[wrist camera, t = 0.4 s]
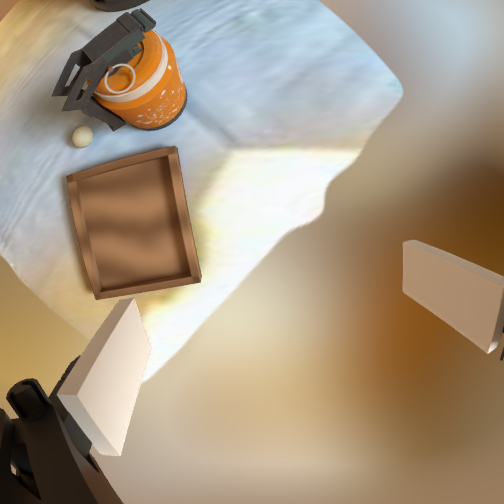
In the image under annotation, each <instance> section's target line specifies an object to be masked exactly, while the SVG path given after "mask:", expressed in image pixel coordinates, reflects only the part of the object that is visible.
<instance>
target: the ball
mask: <svg viewBox="0 0 504 504" xmlns="http://www.w3.org/2000/svg"><path fill="white" fill-rule="evenodd" d="M93 137H94V134H93V131H92V129H91V128H90V127H88V126H80V127H78V128H77V129H76V130H75V131H74V133H73V136H72V140H73V143H74V145H75V146H77V147H79V148H85V147H87V146H89V145H90V144H91V142H92V140H93Z"/></svg>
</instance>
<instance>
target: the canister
mask: <svg viewBox="0 0 504 504" xmlns="http://www.w3.org/2000/svg"><path fill="white" fill-rule="evenodd" d="M139 10H140V11H139ZM139 10H138V9H136V10H134V11H132V12H131V14H129V13H128V12H125V13H124V14H123V15H121V16H120V17H118V18H117V20H116V21H115V22H114V23H112V24H111V25H110V26H108V27H107V28H106V29H104V30H103V31H102V32H101V33H99V34H98V35H97V36H96V37H95V38H93V39H92V40H91V41H90V42H89V43H88V44H86V45H85V46H84V47H83V48H82V49H80V50H77V51H75V52H73V53H72V54H71V55H70V58H69V59H68V61H67V63H66V65H65V67H64V69H63V72H62V74H61V76H60V78H59V80H58V82H57V85H56V87H55V89H54V91H53V94H52V97H53V96H68V98H67V100H66V102H65V105H64V107H63V109H62V111H70V110H81V111H82V112H83V113H85V114H87V115H89V116H91V117H92V116H94V117H96V118H98V119H100V120H102V121H104V122H106V123H107V124H108V125H109V127H110V128H111V129H112V130H113V132H114V131H115V130H117V129H118V128H120V127H122V126H123V125H125V124H126V123H125V121H124V120H123V119H125V120H126V121H128V122H129V123H131V124H132V125H134V126H135V127H137V128H139V129H142V130H148V131H152V130H159V129H162V128H165V127H167V126H169V125H170V124H172V123H173V122H174V121H175V120H177V119H178V117H179V116H180V115H181V114H182V112H183V110H184V108H185V106H186V102H187V90H186V87H185V84H184V81H183V78H182V75H181V72H180V69H179V67H178V64H177V61H176V58H175V55H174V52H173V49H172V47H171V45H170V44H169V43H168V42H167V41H166V40H165V39H164V38H163V37H161V36H160V35H159V34H158V33H157V32H155V31H154V30H152V29H153V28H154V27H155V25H156V21H155V20H153V19H152V18H151V17H150V16H149V15H148V14H147V13H146V12H145V11H144V10H142V9H141V8H140V9H139ZM75 64H77V65H78V66H79V67H80V69H79V70H78V72H77V73H76V75H75V77H74V78H73V80H72V82H71V83H70V85H69V86H66V87H65V85H66V82H67V80H68V78H69V76H70V74H71V72H72V70H73V68H74V66H75ZM85 80H86V82H87V85H88V87H87V89H86V90H85V91H84V90H83V89H81V88H82V86H83V84H84V82H85ZM92 95H93V96H94V97H93V96H92ZM121 117H122V118H123V119H122V118H121Z"/></svg>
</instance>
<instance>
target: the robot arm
mask: <svg viewBox="0 0 504 504" xmlns="http://www.w3.org/2000/svg"><path fill="white" fill-rule="evenodd" d="M90 1H91V2H92V4H93V5H94V6H95V7H96V8H98V9H100V10H103V11H121V10H126V9H129V8H133V7H136V6H138V5H141V4H143V3H145V2H147V1H149V0H90ZM403 292H404V293H405V294H406V295H408V296H409V297H411V298H412V299H414V300H415V301H417V302H418V303H419V304H421V305H422V306H424V307H425V308H427V309H428V310H430V311H431V312H432V313H434V314H435V315H437V316H438V317H439V318H441V319H442V320H444V321H445V322H446V323H448V324H449V325H450V326H452V327H453V328H454V329H456V330H457V331H459V332H460V333H461V334H463V335H464V336H465V337H467V338H468V339H469V340H471V341H472V342H473V343H474V344H476V345H477V346H478V347H480V348H481V349H482V350H484V351H485V352H486V353H489V352H491V351H492V350H493V349H495V348H497V347H498V346H499V342H500V339H501V336H502V332H503V333H504V277H503V276H501V275H499V274H496V273H494V272H492V271H490V270H488V269H485V268H483V267H481V266H478V265H476V264H474V263H472V262H469V261H467V260H464V259H462V258H459V257H457V256H455V255H452V254H450V253H448V252H445V251H443V250H440V249H437V248H435V247H432V246H430V245H427V244H425V243H422V242H419V241H417V240H411V241H406V242H403ZM151 351H152V346H151V343H150V341H149V338H148V336H147V333H146V330H145V328H144V325H143V322H142V319H141V316H140V314H139V311H138V308H137V305H136V302H135V299H134V298H129V299H123V300H119V301H118V303H117V304H116V306H115V307H114V308H113V310H112V311H111V313H110V314H109V315H108V317H107V318H106V320H105V321H104V322H103V324H102V325H101V327H100V328H99V330H98V331H97V332H96V334H95V335H94V337H93V338H92V340H91V341H90V343H89V344H88V346H87V347H86V349H85V350H84V352H83V353H82V355H80V356H79V357H77V358H76V359H75V360H74V361H72V362H71V363H70V365H69V366H68V368H67V369H66V371H65V373H64V374H63V375H62V377H61V380H59V381H58V383H57V385H56V386H55V388H54V389H53V391H52V393H51V394H50V396H49V397H47V395H46V393H45V392H44V390H43V389H42V387H41V385H40V384H39V382H38V381H37V380H36V379H33V378H32V379H25V380H22V381H20V382H18V383H16V384H15V385H14V386H13V387H12V388H11V389H10V390H9V392H8V393H7V397H6V399H7V401H8V402H9V404H10V405H11V407H12V408H13V410H14V411H15V412H16V414H17V415H18V416H19V418H16V419H10V418H9V417H8V415H7V414H6V412H5V411H4V410H3V409H1V408H0V504H123V502H122V501H121V499H120V498H119V497H118V495H117V494H116V492H115V491H114V489H113V488H112V487H111V485H110V483H109V482H108V480H107V479H106V477H105V476H104V474H103V472H102V470H101V469H100V467H99V465H98V464H97V462H96V460H95V459H94V457H93V456H92V455H91V454H90V453H89V451H90V448H91V445H92V444H93V446H94V447H95V448H96V449H97V450H98V452H99V453H100V454H101V455H114V456H120V455H121V452H122V448H123V444H124V440H125V437H126V433H127V429H128V426H129V422H130V419H131V415H132V412H133V408H134V405H135V401H136V398H137V394H138V391H139V388H140V385H141V382H142V378H143V375H144V372H145V369H146V366H147V363H148V360H149V357H150V354H151ZM503 357H504V348H503V351H502V354H501V357H500V360H503ZM11 465H12V466H13V467H14V468H15V469H16V475H15V474H13V473H12V471H11Z"/></svg>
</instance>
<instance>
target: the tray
mask: <svg viewBox="0 0 504 504" xmlns="http://www.w3.org/2000/svg"><path fill="white" fill-rule="evenodd" d="M66 177H67V184H68V190H69V196H70V202H71V207H72V212H73V217H74V222H75V227H76V231H77V235H78V240H79V244H80V248H81V252H82V256H83V259H84V263H85V267H86V270H87V274H88V277H89V280H90V284H91V287H92V290H93V293H94V296H95V299H96V300H99V299H105V298H111V297H118V296H124V295H130V294H136V293H142V292H148V291H154V290H160V289H166V288H172V287H177V286H183V285H189V284H195V283H200V282H201V278H202V275H201V271H200V266H199V261H198V257H197V252H196V247H195V242H194V238H193V233H192V228H191V222H190V217H189V212H188V207H187V201H186V196H185V190H184V185H183V179H182V173H181V167H180V161H179V155H178V148H177V147H175V146H171V147H167V148H162V149H158V150H154V151H150V152H146V153H142V154H138V155H134V156H131V157H127V158H123V159H120V160H116V161H113V162H109V163H106V164H103V165H99V166H96V167H93V168H90V169H87V170H84V171H81V172H78V173H75V174H72V175H69V176H66Z"/></svg>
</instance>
